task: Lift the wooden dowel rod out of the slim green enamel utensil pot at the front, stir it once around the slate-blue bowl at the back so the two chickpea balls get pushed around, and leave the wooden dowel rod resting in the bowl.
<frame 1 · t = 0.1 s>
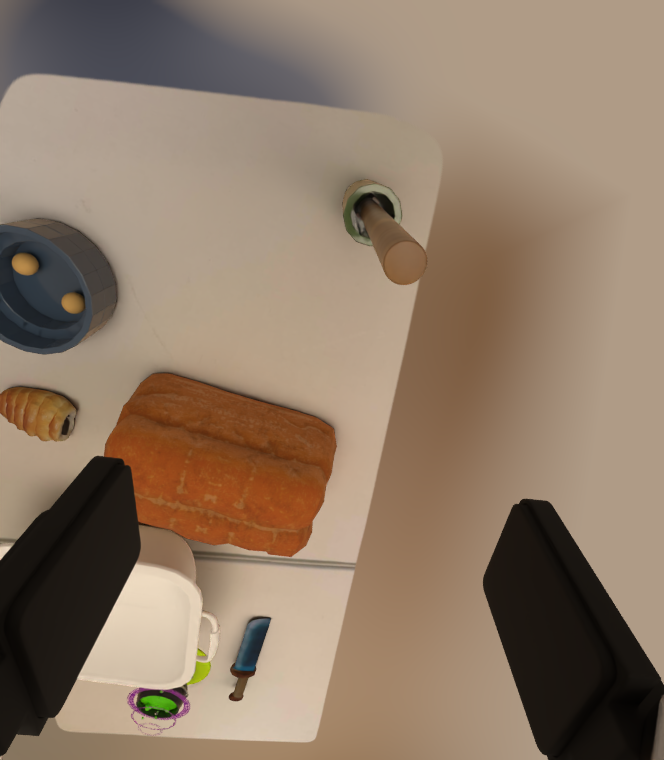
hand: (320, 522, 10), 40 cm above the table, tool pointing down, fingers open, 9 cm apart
baking dish: (134, 553, 69), on the table
bowl: (59, 280, 48), on the table
chickpea a: (73, 303, 48), point 2 cm above the table, touching bowl
chickpea b: (25, 264, 46), point 2 cm above the table, touching bowl
wooden dowel rod: (364, 204, 44), resting on utensil pot
pastry: (48, 408, 57), on the table
toy cauldron: (172, 661, 83), on the table
bread: (235, 433, 58), on the table
utensil pot: (364, 203, 44), on the table
knife: (247, 652, 81), on the table
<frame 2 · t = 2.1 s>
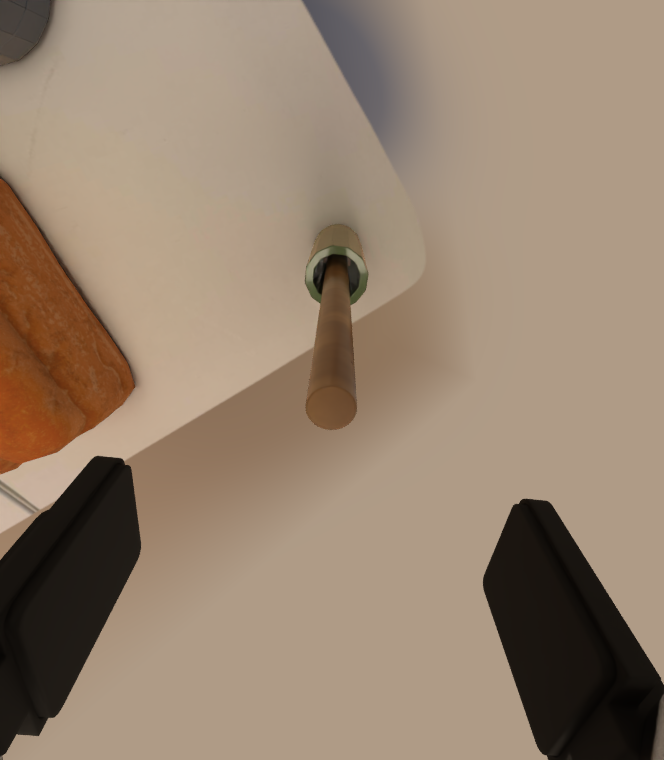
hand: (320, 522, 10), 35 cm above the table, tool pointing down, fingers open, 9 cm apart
wooden dowel rod: (337, 249, 41), resting on utensil pot
bread: (28, 306, 45), on the table
utensil pot: (337, 248, 42), on the table
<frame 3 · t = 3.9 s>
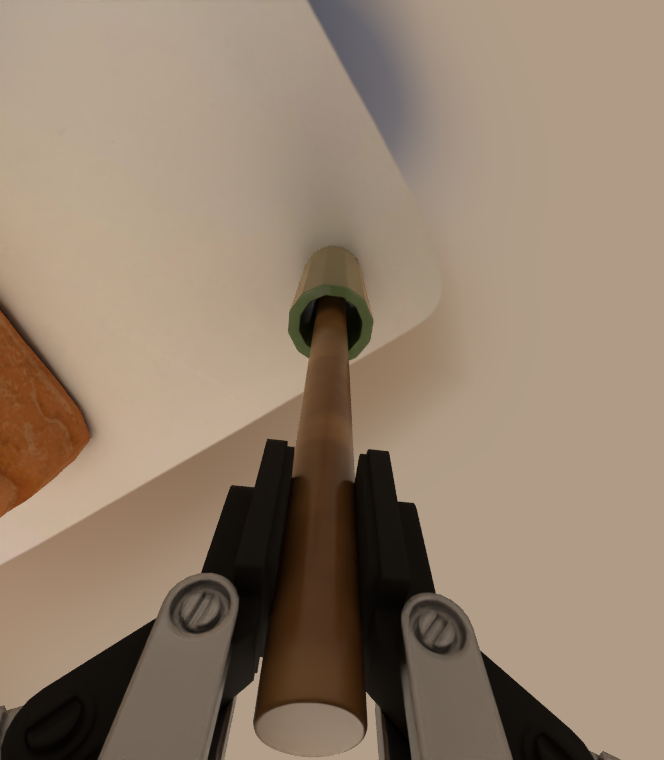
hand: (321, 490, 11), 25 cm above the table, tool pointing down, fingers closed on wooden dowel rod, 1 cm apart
wooden dowel rod: (333, 277, 33), point 1 cm above the table, touching gripper, utensil pot
utensil pot: (333, 275, 34), on the table
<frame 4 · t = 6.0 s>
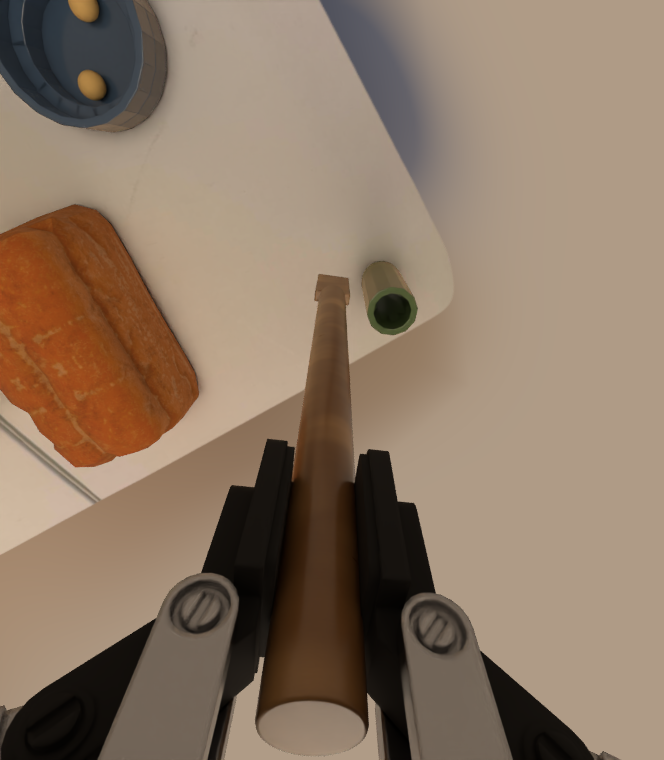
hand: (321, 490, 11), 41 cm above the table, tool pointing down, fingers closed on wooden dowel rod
bowl: (98, 51, 40), on the table
chickpea a: (92, 85, 40), point 2 cm above the table, touching bowl
chickpea b: (83, 4, 37), point 2 cm above the table, touching bowl
wooden dowel rod: (332, 280, 33), point 17 cm above the table, touching gripper
bread: (113, 322, 53), on the table
utensil pot: (380, 280, 50), on the table
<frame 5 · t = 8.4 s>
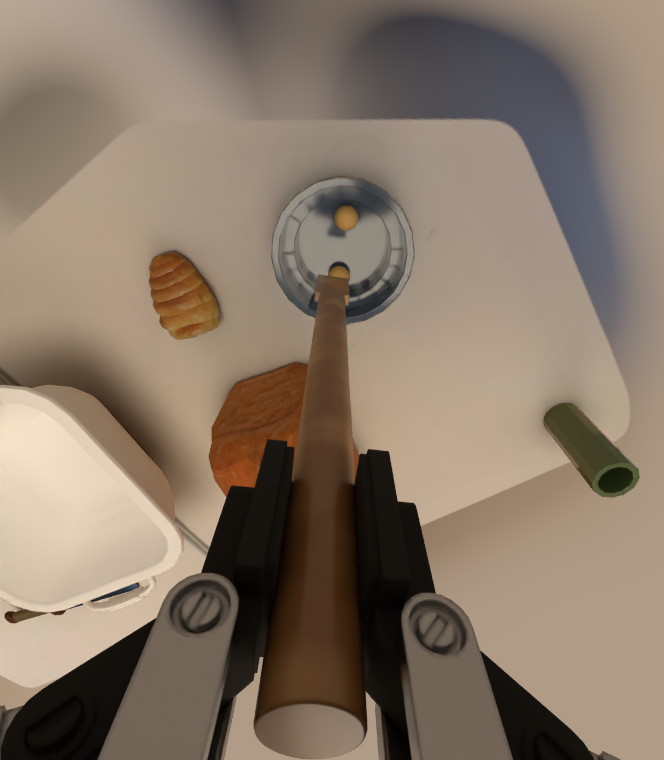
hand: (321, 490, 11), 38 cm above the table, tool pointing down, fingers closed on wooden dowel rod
baking dish: (87, 452, 59), on the table
bowl: (342, 245, 45), on the table
chickpea a: (338, 277, 45), point 2 cm above the table, touching bowl
chickpea b: (346, 218, 42), point 2 cm above the table, touching bowl
wooden dowel rod: (332, 281, 33), point 13 cm above the table, touching gripper
pastry: (187, 298, 48), on the table
bread: (306, 452, 58), on the table
utensil pot: (562, 418, 54), on the table
knife: (74, 591, 73), on the table
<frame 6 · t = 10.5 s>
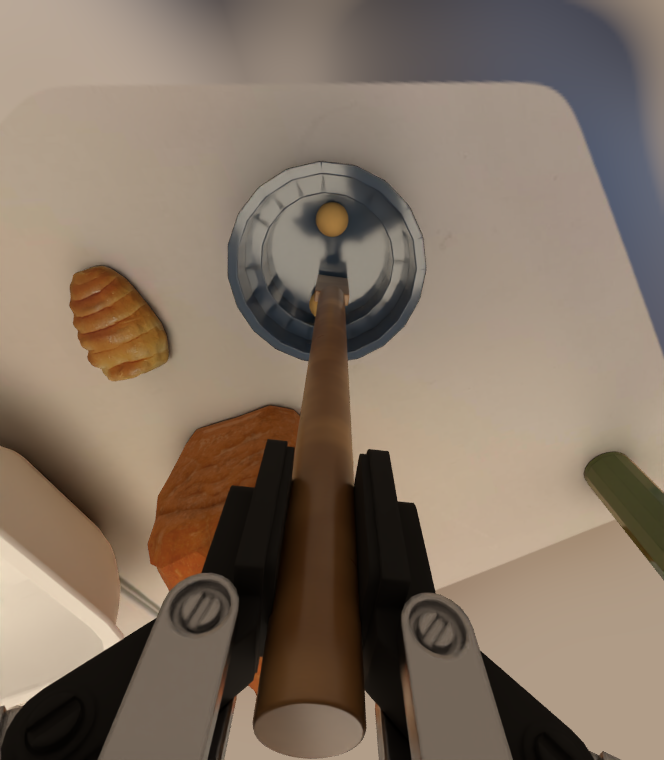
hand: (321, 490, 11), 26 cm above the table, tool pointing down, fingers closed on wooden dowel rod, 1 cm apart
baking dish: (15, 511, 47), on the table
bowl: (328, 256, 34), on the table
chickpea a: (324, 304, 34), point 2 cm above the table, tilted 22°, touching bowl
chickpea b: (332, 219, 31), point 2 cm above the table, touching bowl
wooden dowel rod: (332, 281, 33), point 1 cm above the table, touching gripper
pastry: (126, 325, 37), on the table
bread: (288, 510, 47), on the table
utensil pot: (607, 469, 43), on the table
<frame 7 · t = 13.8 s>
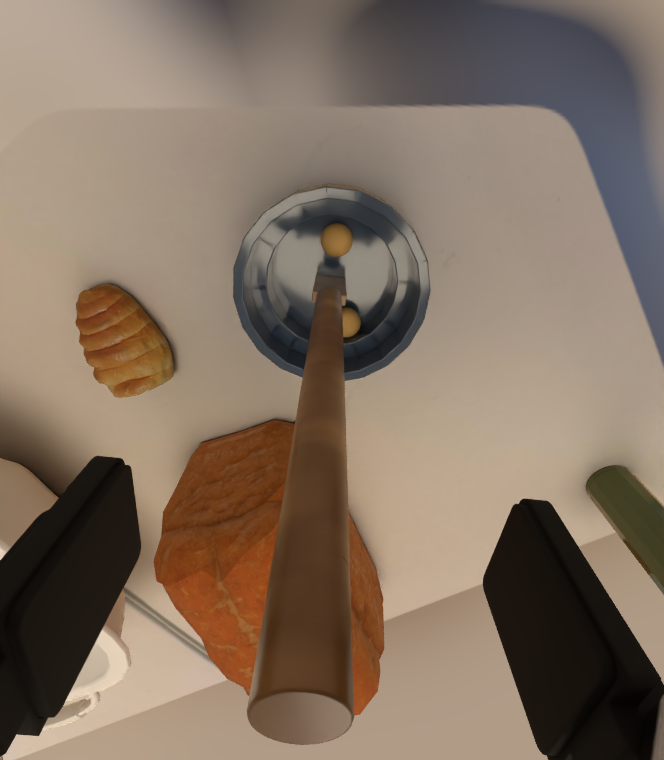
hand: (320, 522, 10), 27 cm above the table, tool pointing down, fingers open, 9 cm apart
baking dish: (20, 523, 47), on the table
bowl: (332, 274, 34), on the table
chickpea a: (346, 322, 34), point 2 cm above the table, tilted 63°, touching bowl
chickpea b: (336, 240, 31), point 2 cm above the table, touching bowl
wooden dowel rod: (330, 281, 34), point 1 cm above the table, touching bowl
pastry: (131, 341, 37), on the table
bread: (291, 522, 47), on the table
utensil pot: (609, 483, 43), on the table
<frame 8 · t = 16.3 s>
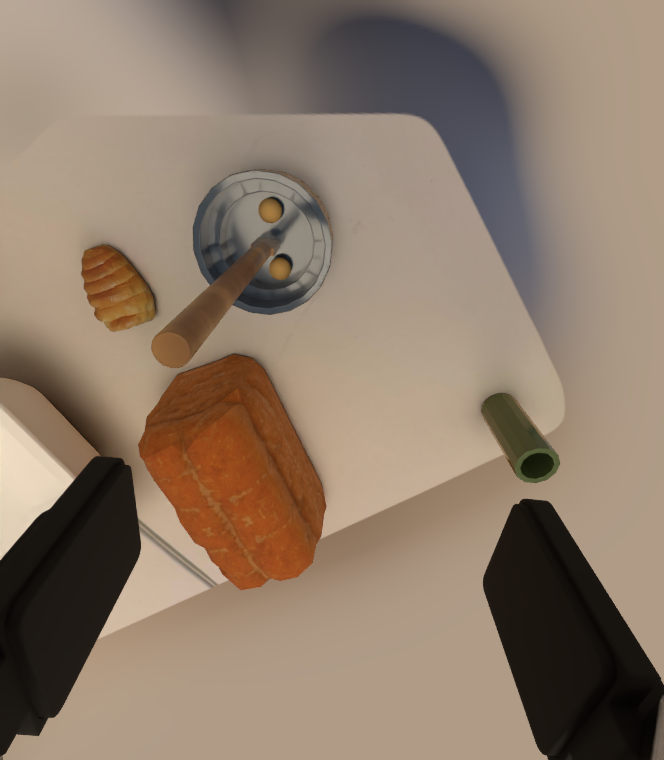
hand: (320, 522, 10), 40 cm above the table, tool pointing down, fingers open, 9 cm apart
baking dish: (36, 444, 59), on the table
bowl: (271, 238, 46), on the table
chickpea a: (280, 268, 46), point 2 cm above the table, tilted 58°, touching bowl
chickpea b: (270, 210, 43), point 2 cm above the table, touching bowl
wooden dowel rod: (269, 242, 46), point 1 cm above the table, touching bowl
pastry: (123, 291, 49), on the table
bread: (252, 443, 59), on the table
utensil pot: (499, 408, 55), on the table
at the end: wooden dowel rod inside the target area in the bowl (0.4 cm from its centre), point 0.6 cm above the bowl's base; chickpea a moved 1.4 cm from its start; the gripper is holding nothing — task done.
